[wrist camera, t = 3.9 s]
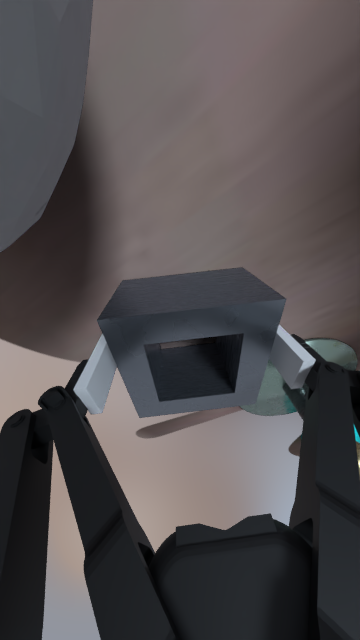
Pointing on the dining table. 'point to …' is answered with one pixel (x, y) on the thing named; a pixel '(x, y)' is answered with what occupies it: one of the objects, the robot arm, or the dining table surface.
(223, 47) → the dining table surface
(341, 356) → the round base stand
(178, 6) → the dining table surface
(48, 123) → the ceramic pitcher
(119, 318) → the steel link
